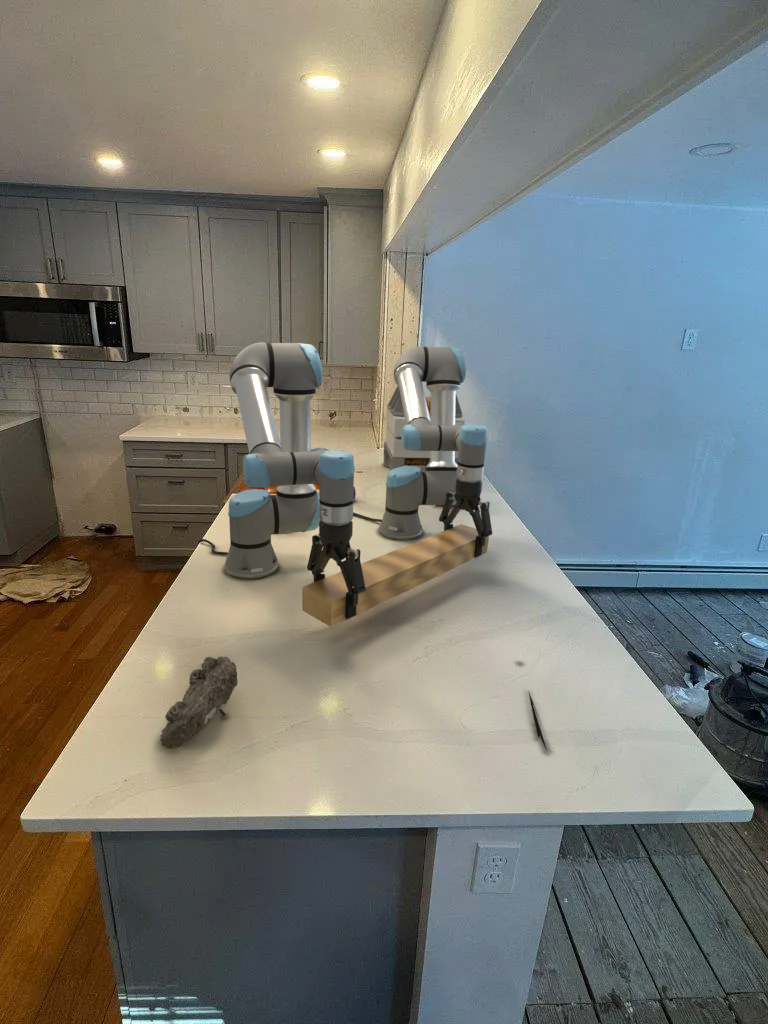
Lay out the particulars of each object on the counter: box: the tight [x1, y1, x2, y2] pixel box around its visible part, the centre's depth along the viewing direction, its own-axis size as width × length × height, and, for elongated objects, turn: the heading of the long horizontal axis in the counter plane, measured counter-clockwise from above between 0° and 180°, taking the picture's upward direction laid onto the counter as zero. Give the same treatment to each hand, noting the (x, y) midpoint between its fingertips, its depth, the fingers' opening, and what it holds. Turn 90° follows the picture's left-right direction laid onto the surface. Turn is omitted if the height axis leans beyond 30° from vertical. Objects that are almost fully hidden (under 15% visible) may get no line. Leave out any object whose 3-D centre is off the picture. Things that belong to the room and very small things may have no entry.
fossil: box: [160, 656, 239, 749], centre depth 107 cm, size 22×10×15 cm
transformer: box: [383, 385, 465, 471], centre depth 268 cm, size 34×33×41 cm
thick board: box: [301, 523, 490, 628], centre depth 151 cm, size 63×10×6 cm, turn 137°
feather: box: [528, 689, 548, 751], centre depth 116 cm, size 2×28×2 cm
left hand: (334, 608), depth 134 cm, fingers closed on thick board, 10 cm apart
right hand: (462, 550), depth 170 cm, fingers closed on thick board, 10 cm apart
